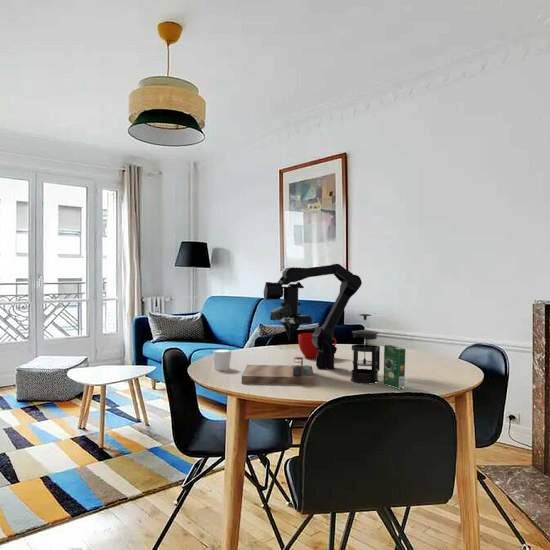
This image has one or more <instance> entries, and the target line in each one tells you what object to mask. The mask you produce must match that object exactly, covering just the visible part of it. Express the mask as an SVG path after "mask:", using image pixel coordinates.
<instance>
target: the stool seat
mask: <svg viewBox="0 0 550 550" xmlns="http://www.w3.org/2000/svg"><path fill="white" fill-rule="evenodd" d="M293 366H294V365H285V364H284V365H278V364H277V365H276V364H275V365H273V364H247V365H246V366H245V368H244V371H243V373H242V375H241V384H246V385H247V384H249V385H252V384H253V385H258V384H259V385H290V386H292V385H295V386H297V385H298V386H300V385H301V386H315V374H314V370H313V367H312V365H308V364H307V365H304V364H303V367H302V369H301V376H293Z"/></svg>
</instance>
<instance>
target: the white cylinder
mask: <svg viewBox="0 0 550 550" xmlns="http://www.w3.org/2000/svg"><path fill="white" fill-rule="evenodd" d="M212 352H213V353H212V354H213V367H214V370H215V371H228V369H229V370H230V367H231V366H230V365H231V356H232V350H229V349H215V350H213V351H212Z"/></svg>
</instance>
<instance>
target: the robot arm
mask: <svg viewBox="0 0 550 550" xmlns="http://www.w3.org/2000/svg"><path fill="white" fill-rule="evenodd" d="M281 275H282V276H281V277H280V278H279V279H278V281H277V282H270V281H266V282H265V284H264V290H263V299H264V301H280V300H281V298H283V301H281V303H280V306H278V307H276V308H274V309H272V310H270V317H269V319H270V320H269V321H279V324H281V325H282V326H283V328H284V331H285V332H286V337H287V339H288V341H291V342H292V341H293V339H294V337H295V335H296V333H297V331H298V330H299V328H300V326H301V325H304V324H313V317H312V316H311V315H307V314H301V313H300V312H299V306H301V302H299V289H304V288H305V286H304V285H303V284H301V282H300V281H303V280H305V279H308V278H313V277H321V276H328V275H333V276H334V277H335V278H336V279H337V280H338V281H339V282H340V285H339V294H338V295H337V296H336V297H337V298H336V299H335V301H334V302H333V305H332V307H331V308H330V311H329V312H328V315H327V316H326V318H325V321H324V322H323V324H322V325H321V326H315V329H314V331H313V332H312V333H313V334H312V336H313V337H312V343H313V345H314V346H316V349H317V351H318V355H316V358H315V367H316V368H317V369H318V370H335V354H336V353H337V350H338V348H337V347H336V345H335V346H334V343H333V340H334V339H333V338H334V331H335V328H336V326H337V325H338V322H339V320H340V319H341V316H342V315H343V312H344V310H345V308H346V306H347V305H348V303H349V300H350V299H351V298H352V297H353V296H354V295H355V294H356V293H357V291H358V290H359V289H360V288H361V286H362V283H363V282H362V279H361V277H360V276H359V275H357V274H353V273H352V272H351V271H350V270H348V269H347V268H344V267H343V266H342V265H341V264H339V263H333V264H329V265H328V264H327V265H320V266H312V267H294V266H293V267H286V268H284V269H283V272H282V274H281Z"/></svg>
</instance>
